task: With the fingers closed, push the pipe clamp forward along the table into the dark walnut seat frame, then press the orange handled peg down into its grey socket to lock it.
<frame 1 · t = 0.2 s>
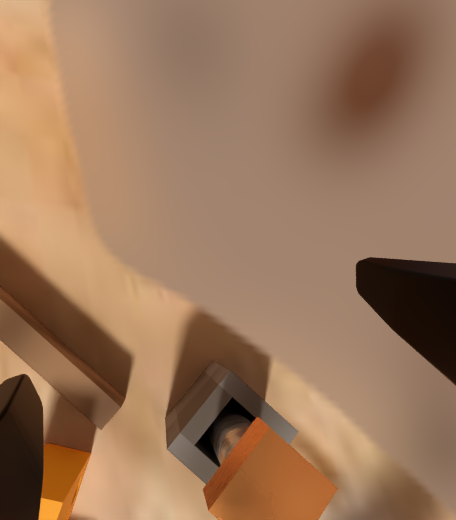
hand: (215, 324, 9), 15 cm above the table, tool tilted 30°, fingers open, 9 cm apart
orange handled peg: (245, 455, 15), point 8 cm above the table, slide at 0.0 cm
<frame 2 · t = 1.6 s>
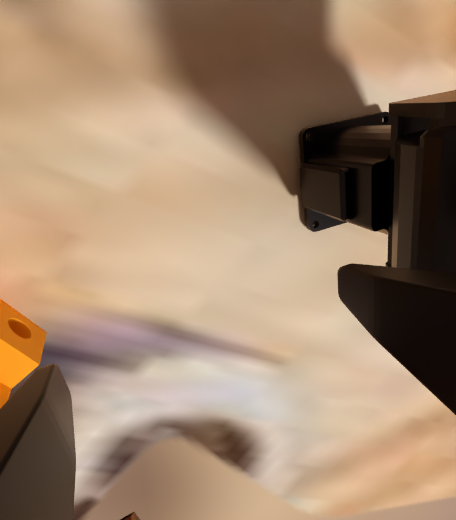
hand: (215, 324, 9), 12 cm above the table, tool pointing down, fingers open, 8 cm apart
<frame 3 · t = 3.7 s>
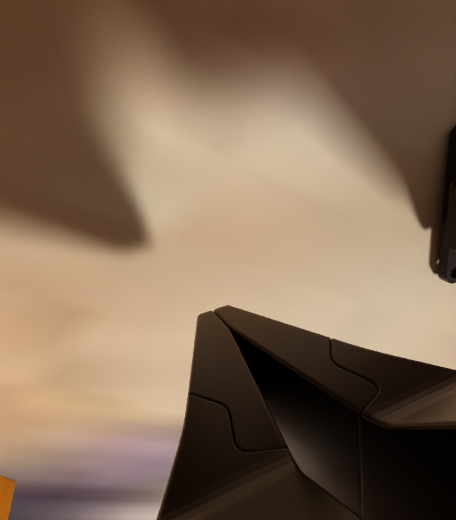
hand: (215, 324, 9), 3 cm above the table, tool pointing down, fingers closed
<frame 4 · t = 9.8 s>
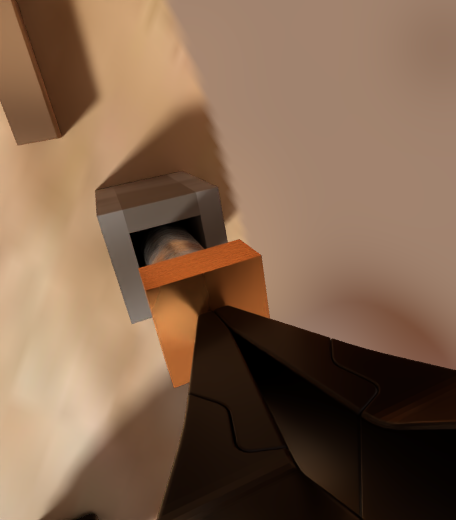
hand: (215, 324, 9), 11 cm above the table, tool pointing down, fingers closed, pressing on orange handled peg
orange handled peg: (181, 269, 13), point 7 cm above the table, slide at 0.8 cm, touching gripper
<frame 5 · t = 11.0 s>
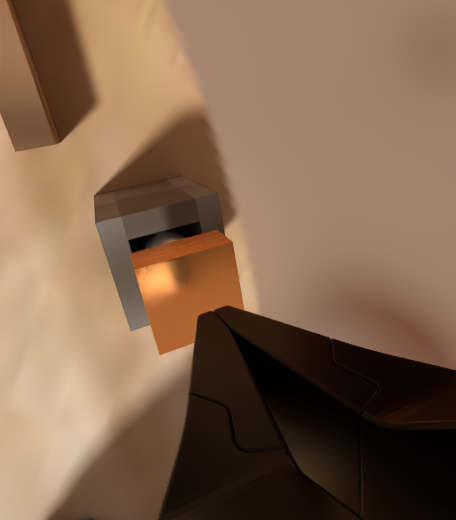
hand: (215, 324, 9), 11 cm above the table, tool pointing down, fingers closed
orange handled peg: (169, 258, 14), point 5 cm above the table, slide at 2.9 cm
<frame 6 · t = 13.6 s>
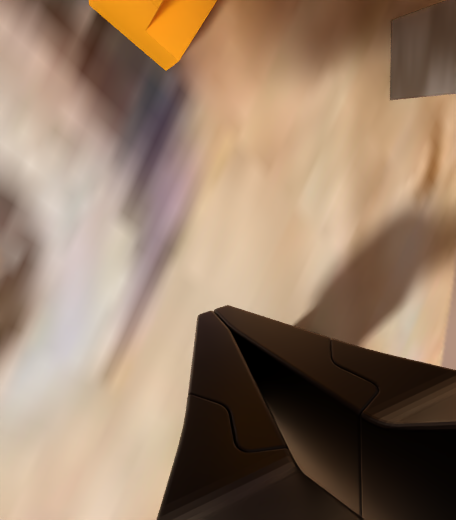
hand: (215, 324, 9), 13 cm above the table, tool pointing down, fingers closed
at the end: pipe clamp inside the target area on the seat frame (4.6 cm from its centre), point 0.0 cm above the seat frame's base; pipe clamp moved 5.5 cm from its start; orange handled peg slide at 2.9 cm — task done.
